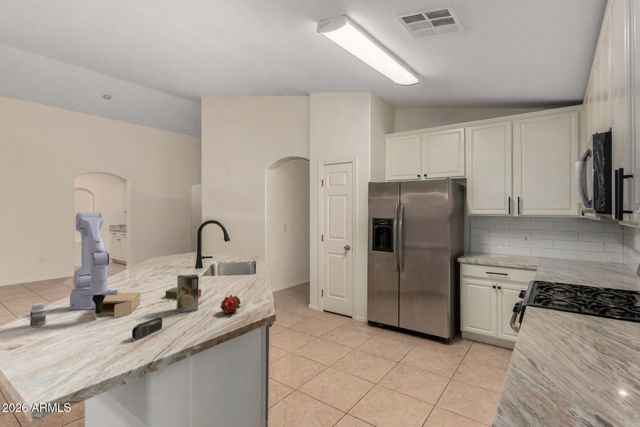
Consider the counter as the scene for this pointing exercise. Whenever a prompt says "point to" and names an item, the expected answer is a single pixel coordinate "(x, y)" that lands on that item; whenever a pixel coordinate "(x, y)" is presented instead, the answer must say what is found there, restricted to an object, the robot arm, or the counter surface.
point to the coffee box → (187, 292)
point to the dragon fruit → (230, 304)
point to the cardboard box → (118, 299)
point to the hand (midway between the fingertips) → (98, 313)
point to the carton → (173, 293)
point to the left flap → (94, 311)
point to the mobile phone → (146, 328)
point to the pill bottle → (38, 315)
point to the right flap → (122, 309)
